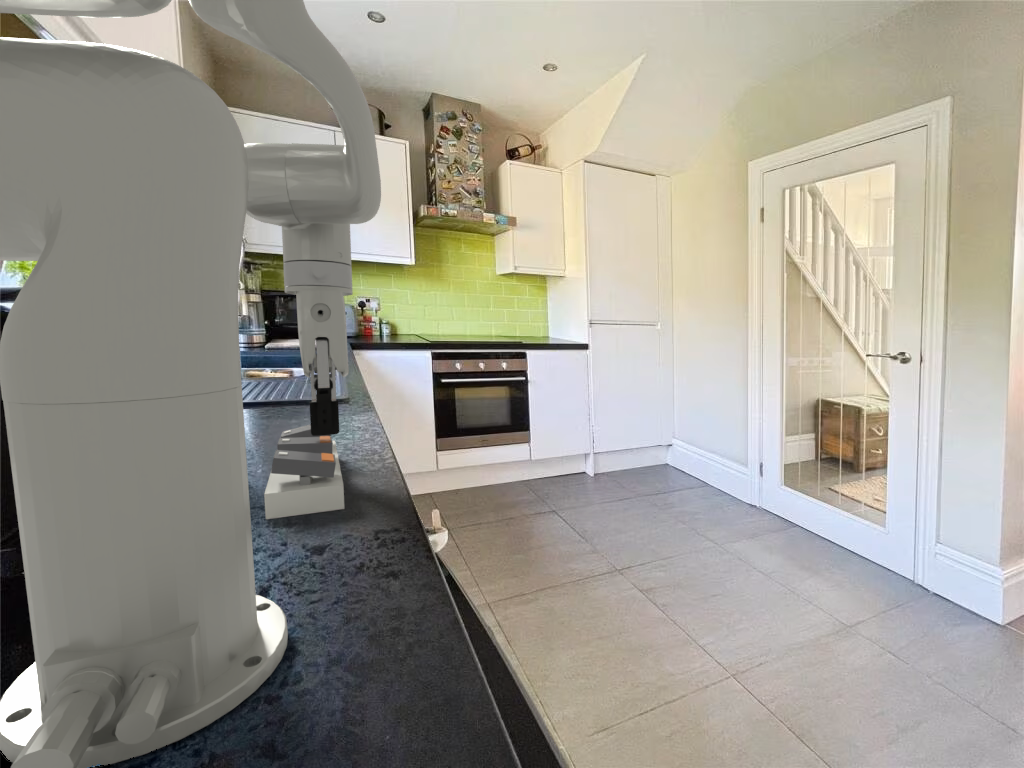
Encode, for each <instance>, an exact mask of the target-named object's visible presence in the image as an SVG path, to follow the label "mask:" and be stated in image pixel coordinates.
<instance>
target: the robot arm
mask: <svg viewBox="0 0 1024 768" xmlns="http://www.w3.org/2000/svg"><path fill="white" fill-rule="evenodd" d="M172 1H173V0H0V14H17V15H36V16H55V17H71V18H72V17H74V18H75V17H79V18H94V19H95V18H96V19H97V18H102V19H103V18H105V19H106V18H107V19H108V18H110V19H111V18H112V19H113V18H114V19H115V18H116V19H117V18H120V19H121V18H135V17H143V16H148V15H151V14H155V13H159V11H161V10H163V9H165V8H167V7H168V6H169V5H170V3H171V2H172ZM188 1H189V4H190V7H191V9H192V10H193V11H194V13H195V14H196V15H197V17H199V18H200V19H201V20H202V21H203V22H204V23H205V24H206V25H208V26H210V27H211V28H213V29H215V30H216V31H219V32H221V33H223V34H225V35H226V36H228V37H231V38H233V39H235V40H237V41H239V42H242V43H244V44H246V45H249V46H250V47H252V48H254V49H257V50H259V51H260V52H262V53H265V54H266V55H268V56H270V57H272V58H273V59H275V60H277V61H278V62H281V63H282V64H284V65H286V66H287V68H289V69H291V70H293V71H294V72H295V73H297V74H298V75H300V76H301V77H303V79H304V80H305V81H307V82H308V83H309V84H311V86H313V88H315V89H316V90H317V91H318V93H320V95H321V96H322V97H323V98H324V99H325V100H326V102H327V104H328V105H329V106H330V108H331V109H332V111H333V113H334V115H335V117H336V119H337V122H338V124H339V127H340V130H341V131H340V132H341V133H342V138H343V143H344V144H343V145H341V144H323V143H319V144H318V143H315V144H314V143H294V142H291V143H284V142H283V143H281V142H279V143H278V142H252V143H246V144H245V142H244V137H243V135H242V133H241V130H240V128H239V125H238V123H237V120H236V119H235V117H234V115H233V114H232V112H231V110H230V108H229V107H228V105H227V104H226V103H225V102H224V100H223V99H222V98H221V97H220V96H219V95H218V93H217V92H216V91H215V90H214V89H213V88H212V87H210V85H208V84H207V83H206V82H205V81H204V80H202V79H201V78H200V77H199V76H197V75H195V74H194V73H193V72H191V71H190V70H188V69H186V68H185V67H183V66H180V65H178V64H177V63H175V62H173V61H170V60H168V59H166V58H163V57H160V56H157V55H154V54H152V53H148V52H146V51H143V50H142V51H141V50H137V49H133V48H127V47H123V46H119V45H113V44H106V43H104V44H103V43H96V42H89V41H87V42H86V41H71V40H69V41H68V40H55V39H54V40H53V39H37V38H36V39H35V38H20V37H19V38H18V37H3V36H1V37H0V262H2V261H7V262H8V261H11V262H15V261H16V262H17V261H18V262H28V261H29V262H36V264H35V265H34V267H33V268H32V270H31V271H30V273H29V275H28V277H27V279H26V280H25V282H24V284H23V286H22V287H21V289H20V290H19V292H18V295H17V297H16V298H15V300H14V302H13V304H12V305H11V308H10V309H9V312H8V315H7V317H6V320H5V322H4V325H3V329H2V333H1V336H0V337H1V338H0V391H1V401H3V402H2V403H3V410H4V417H5V425H6V426H5V428H6V435H7V436H6V437H7V443H8V451H9V457H10V467H11V474H12V475H11V476H12V484H13V490H14V491H13V492H14V500H15V507H16V515H17V522H18V523H17V524H18V530H19V532H18V534H19V539H20V547H21V549H20V550H21V556H22V563H23V564H22V565H23V570H24V571H23V572H24V578H25V579H24V581H25V589H26V596H27V604H28V613H29V622H30V630H31V636H32V637H31V638H32V645H33V652H34V660H35V661H34V662H33V664H31V665H30V666H29V667H28V668H26V669H25V670H24V671H23V672H22V673H21V674H20V675H19V676H17V678H16V679H15V680H14V681H13V682H12V683H11V684H10V686H9V687H8V688H7V689H6V691H5V692H4V693H3V694H2V696H1V698H0V750H1V751H2V753H3V754H4V755H5V756H6V758H7V759H8V760H10V761H9V762H11V766H10V768H87V767H91V766H92V765H93V766H96V765H97V764H101V765H104V766H109V765H108V764H110V765H114V764H117V763H120V762H124V761H127V760H130V758H131V759H133V757H134V758H137V757H140V756H143V755H147V754H149V753H151V751H152V752H154V751H156V749H157V750H160V749H161V748H163V747H166V745H167V746H169V745H171V744H173V743H177V742H179V741H181V740H183V739H184V738H186V737H188V736H190V735H192V734H194V733H196V732H198V731H200V730H201V729H204V728H205V727H207V726H210V725H211V724H213V723H214V722H216V721H217V720H219V719H220V718H221V717H223V716H224V715H226V714H228V713H229V712H231V711H233V710H234V709H235V708H237V706H239V705H241V703H242V702H244V701H245V700H246V699H248V698H249V697H250V696H251V695H253V694H254V693H255V692H256V691H257V690H258V689H259V688H260V687H261V685H263V684H264V682H266V681H267V679H268V678H269V677H271V675H272V674H273V673H274V671H275V670H276V668H277V667H278V665H280V662H281V661H282V659H283V657H284V655H285V652H286V649H287V646H288V636H289V632H288V622H287V615H286V614H285V612H284V611H283V609H282V607H280V606H279V605H278V604H277V603H276V602H274V601H273V600H270V599H268V598H266V597H265V596H262V595H257V593H256V577H255V566H254V552H253V551H254V549H253V537H252V535H253V534H252V521H251V519H252V518H251V506H250V489H249V476H248V474H249V473H248V463H247V462H248V461H247V460H248V459H247V446H246V443H247V442H246V431H245V429H246V428H245V415H244V399H243V387H242V386H243V385H242V369H241V368H242V367H241V365H242V364H241V350H240V330H239V329H240V328H239V326H240V325H239V282H240V279H239V277H240V264H241V256H242V247H243V237H244V232H245V231H244V230H245V223H246V217H247V215H248V216H249V217H250V218H252V219H254V220H256V221H258V222H261V223H264V224H269V225H273V226H278V227H281V236H282V237H281V239H282V242H281V243H282V257H283V258H282V259H283V260H282V261H283V262H282V263H283V284H284V293H285V294H288V295H294V296H295V295H296V296H295V297H296V314H297V315H296V316H297V317H296V318H297V319H296V320H297V333H298V334H297V335H298V341H299V342H298V343H299V351H300V358H301V365H302V369H303V370H302V371H303V375H304V376H305V377H307V378H309V379H310V380H309V381H310V391H311V392H310V393H311V401H309V418H310V419H309V421H310V424H311V434H312V435H313V436H320V435H331V436H332V435H338V434H339V433H340V416H339V415H340V414H339V413H340V412H339V400H338V399H337V387H336V385H337V383H336V380H337V377H336V371H337V372H338V373H340V375H341V376H342V378H345V377H347V376H348V375H349V373H350V372H349V371H350V370H349V359H348V358H349V357H348V356H349V354H348V336H347V334H348V333H347V331H348V330H347V329H348V328H347V315H346V305H345V298H344V297H345V296H347V297H348V296H353V293H354V291H353V271H352V270H353V268H352V244H351V243H352V241H351V225H360V224H364V223H365V224H366V223H367V222H369V221H371V220H372V219H373V218H375V217H376V215H377V214H378V212H379V210H380V207H381V203H382V202H381V201H382V183H381V181H382V180H381V173H380V163H379V157H378V149H377V141H376V134H375V133H376V132H375V127H374V122H373V121H374V120H373V117H372V113H371V109H370V106H369V103H368V100H367V98H366V96H365V94H364V91H363V88H362V87H361V84H360V83H359V80H358V79H357V76H356V75H355V74H354V72H353V71H352V69H351V67H350V66H349V64H348V63H347V61H346V60H345V59H344V57H343V56H342V55H341V53H340V52H339V50H338V49H337V48H336V47H335V45H334V44H333V43H332V42H331V41H330V40H329V39H328V38H327V36H325V34H324V33H323V32H322V30H320V29H319V28H318V26H317V25H316V23H315V21H313V19H311V16H310V15H309V12H308V11H307V8H306V5H305V2H304V0H188ZM2 753H1V754H2ZM3 754H2V755H3ZM6 758H5V759H6ZM7 759H6V760H7ZM8 760H7V761H8Z"/></svg>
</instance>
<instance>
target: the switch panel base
mask: <svg viewBox="0 0 1024 768" xmlns="http://www.w3.org/2000/svg"><path fill="white" fill-rule="evenodd" d="M332 443H333V444H332V454H333V455H335V460H336V465H335V471H334V478H333V477H318V476H303V475H287V474H272V473H271V472H270V474H269V477H268V481H267V484H266V487H265V490H264V511H265V520H272V519H280V518H287V517H293V516H301V515H309V514H317V513H324V512H333V511H338V510H345V495H344V493H345V490H344V489H345V488H344V481H343V480H344V479H343V475H342V471H341V469H342V468H341V465H340V459H339V454H338V449H337V445H336V444H337V443H336V440H333V439H332Z"/></svg>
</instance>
